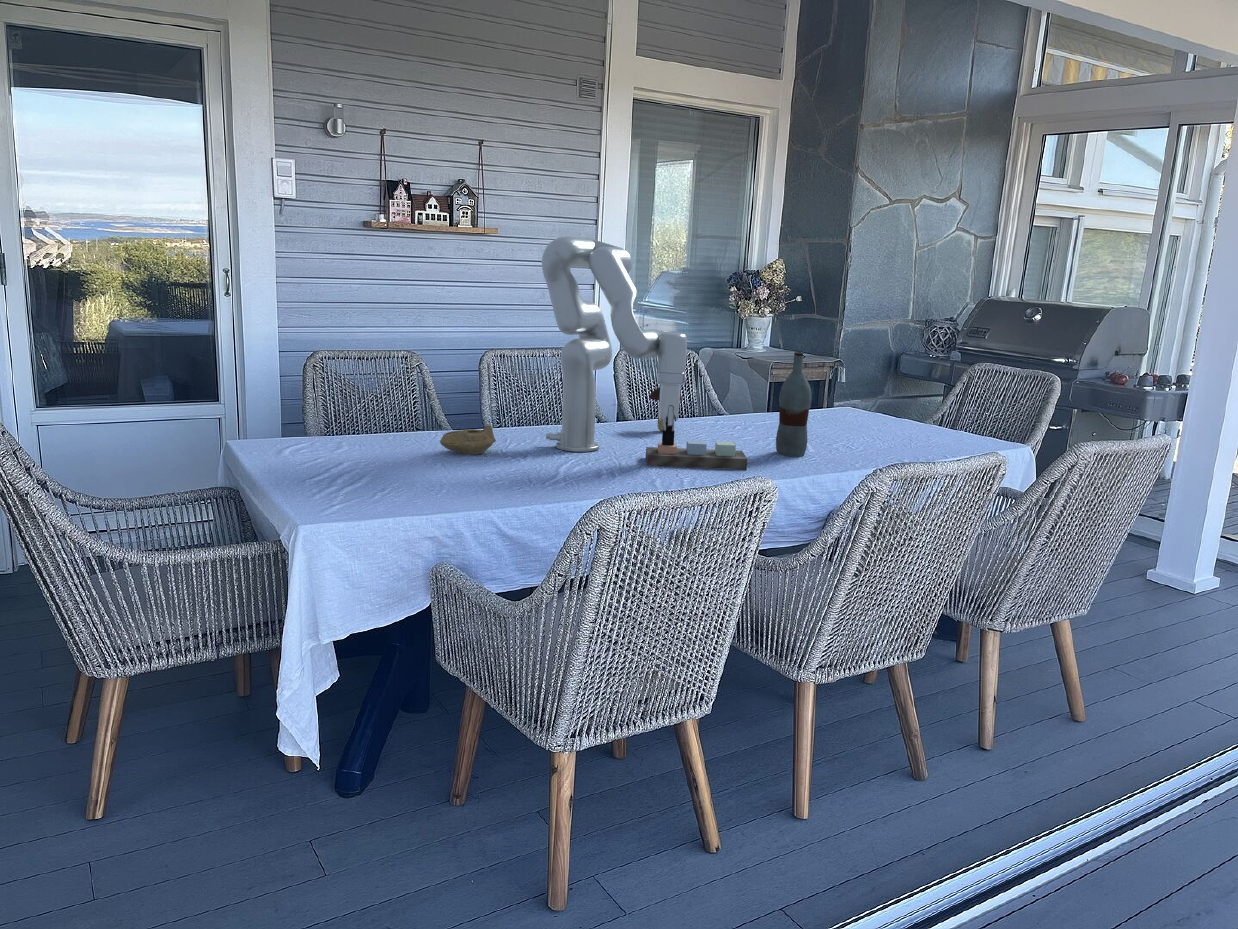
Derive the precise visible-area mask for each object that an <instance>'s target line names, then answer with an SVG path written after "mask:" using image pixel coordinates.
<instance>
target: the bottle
mask: <svg viewBox="0 0 1238 929" xmlns="http://www.w3.org/2000/svg"><path fill="white" fill-rule="evenodd" d="M804 353H805V352H802V351H794V353H793V354H794V355H793V364H792V371H791V372H790V373H789V375H788V376H787V378H786V380H784V382H782V385H781V388H780V391H779V397H778V402H779V404H778V406H779V408H778V410H779V412H778V413H779V414H778V415H779V416H778V417H779V418H778V419H779V420H778V421H779V422H778V427H777V432H776V437H775V449H776V453H777V454H778V455H781V456H786V457H804V455H805V453H806V451H807V446H808V443H809V442H808V426H807V425H808V418H809V413H810V407H811V403H812V389H811V385H810V383H809V382H808V380H807V377H806V376H805V373H804V372H803V361H804Z"/></svg>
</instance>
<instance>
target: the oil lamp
mask: <svg viewBox="0 0 1238 929" xmlns="http://www.w3.org/2000/svg"><path fill="white" fill-rule="evenodd" d="M493 430H494V429H493V427H492V425H491V424H486V425H485V426H484V427H483V429H474V428H473V429H472V428H469V429H467V428H466V429H460V430H453V431H448V432H445V433H444V434H443V435H442V437H441V439H440V441H439V442H440V445H442V447H444V448H445V449H446V450H449V451H452V452H453V451H454V452H459V453H460V454H462V455H465V454H470V455H469V456H476V454H477V455H481V454H483V453H485V452H486V451H487V450H488V449H489V448H491V447H492V446H493V443H495V442H496V441H497V440H496V438H495V436H494V431H493Z"/></svg>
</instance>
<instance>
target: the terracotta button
mask: <svg viewBox="0 0 1238 929" xmlns="http://www.w3.org/2000/svg"><path fill="white" fill-rule="evenodd" d="M657 447H658V450H657V453H660V454H677V448H678V446H677V443H676V442H674V445H673V446H671V445H662V442H657Z"/></svg>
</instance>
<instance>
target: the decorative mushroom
mask: <svg viewBox="0 0 1238 929" xmlns="http://www.w3.org/2000/svg"><path fill="white" fill-rule="evenodd" d="M660 387H661V386H659V387H657V388H655V389H654V390H653V391H652V392H650V394H649V396H648V399H650V400H654V401H659V398H660ZM682 396H683V395H681V393H680V401H681V402H682V401H683V399H684V398H683V397H682ZM680 401H679V402H680ZM663 423H664V419H662V421H661V420H660V419H659V416H658V415H657V422H656V424H657V429H658V430H659V432H662V431H663Z"/></svg>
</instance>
